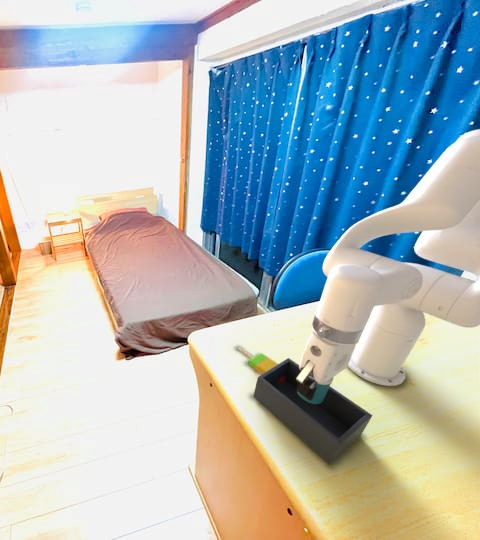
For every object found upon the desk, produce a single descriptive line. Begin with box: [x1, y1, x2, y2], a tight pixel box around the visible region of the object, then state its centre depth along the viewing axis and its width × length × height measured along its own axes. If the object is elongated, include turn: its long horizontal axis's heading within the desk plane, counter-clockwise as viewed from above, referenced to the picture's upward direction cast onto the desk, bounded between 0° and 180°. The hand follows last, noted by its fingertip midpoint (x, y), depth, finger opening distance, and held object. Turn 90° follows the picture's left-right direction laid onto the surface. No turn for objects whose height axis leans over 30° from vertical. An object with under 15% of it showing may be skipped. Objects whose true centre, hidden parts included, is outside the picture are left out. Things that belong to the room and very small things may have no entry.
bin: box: [252, 357, 373, 465], centre depth 65 cm, size 12×19×8 cm, turn 28°
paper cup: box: [297, 376, 334, 404], centre depth 61 cm, size 5×5×7 cm
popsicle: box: [237, 346, 285, 383], centre depth 80 cm, size 6×3×15 cm
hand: (312, 388), depth 62 cm, fingers closed on paper cup, 5 cm apart
